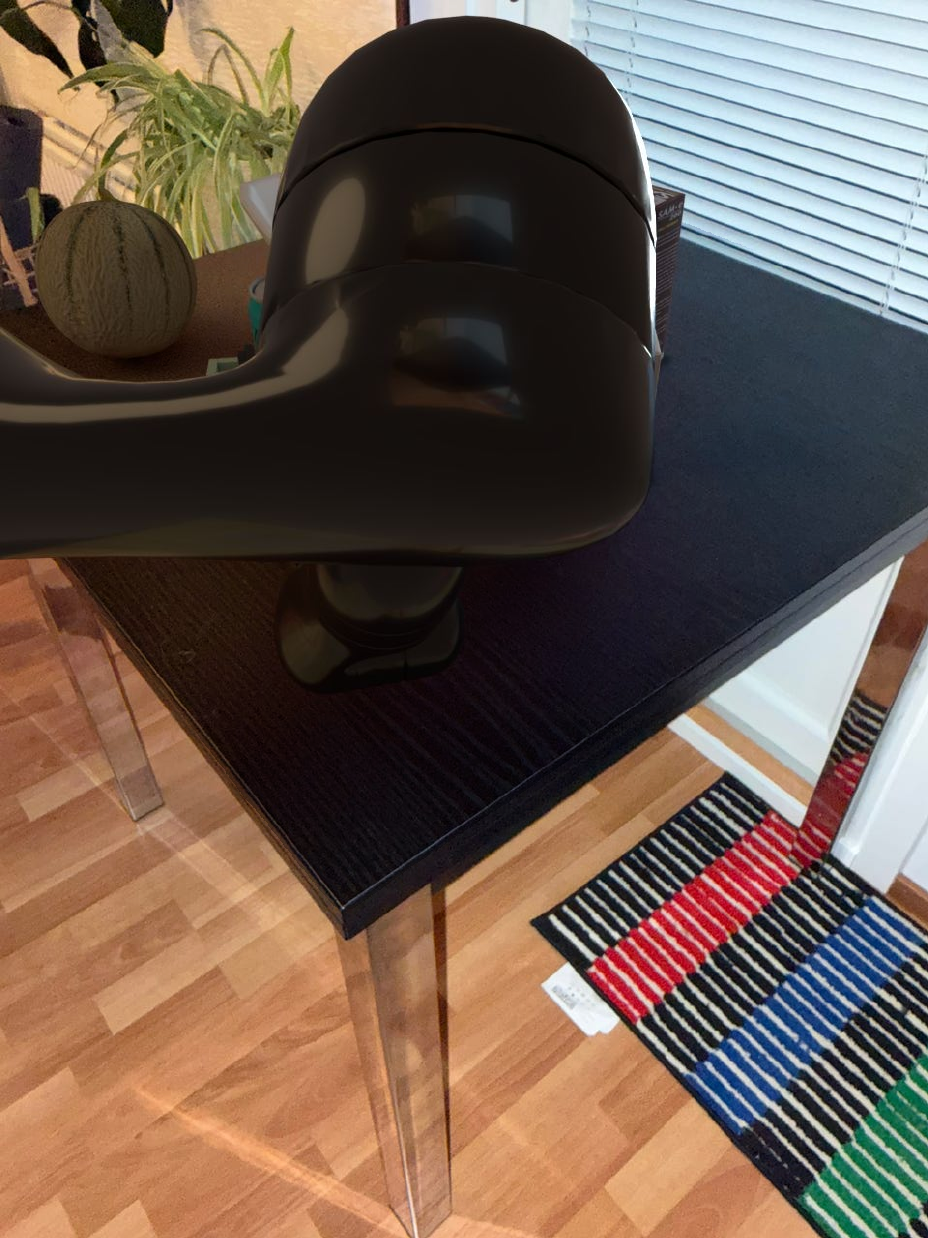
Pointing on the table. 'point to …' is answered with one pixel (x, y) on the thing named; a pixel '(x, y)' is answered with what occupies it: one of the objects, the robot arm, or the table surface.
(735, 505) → the table surface
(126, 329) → the cantaloupe
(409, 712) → the table surface
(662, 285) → the supplement box
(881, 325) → the table surface
